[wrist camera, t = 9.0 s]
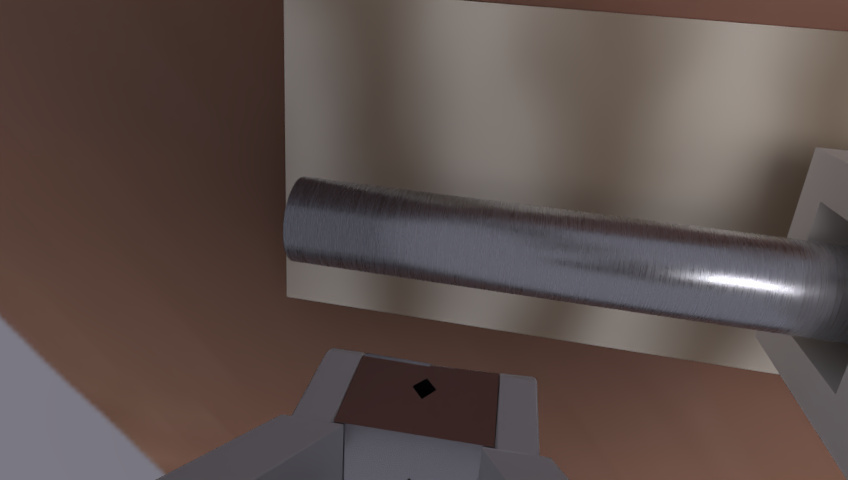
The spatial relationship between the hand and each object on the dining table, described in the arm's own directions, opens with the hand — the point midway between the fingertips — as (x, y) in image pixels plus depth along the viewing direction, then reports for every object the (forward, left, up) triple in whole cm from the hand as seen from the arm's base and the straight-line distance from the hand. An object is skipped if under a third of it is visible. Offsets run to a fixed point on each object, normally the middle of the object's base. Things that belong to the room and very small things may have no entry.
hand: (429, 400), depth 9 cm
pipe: (+8, -1, -9) cm, 12 cm away
